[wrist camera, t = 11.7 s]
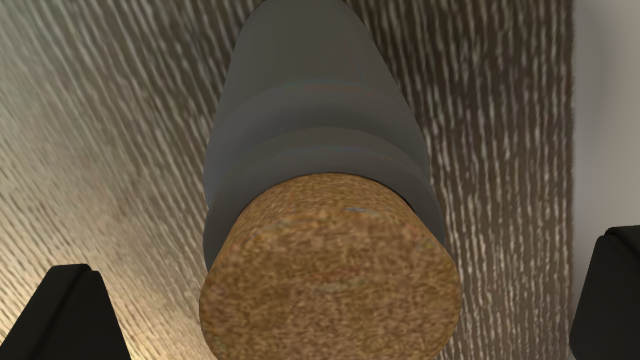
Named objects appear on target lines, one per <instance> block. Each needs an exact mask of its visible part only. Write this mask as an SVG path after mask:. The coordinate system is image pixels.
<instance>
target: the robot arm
mask: <svg viewBox="0 0 640 360" xmlns="http://www.w3.org/2000/svg"><path fill="white" fill-rule="evenodd" d="M569 342H570V347H571V351H572V353H573V355H574V357H575V358H576V360H640V225H635V226H620V227H611V228H609V229H608V230H607V231H606V232H605V234H604V235H603V236H600V237H599V238H598V239H597V241H596V244H595V247H594V251H593V254H592V258H591V261H590V265H589V268H588V272H587V276H586V279H585V283H584V286H583V289H582V293H581V297H580V300H579V303H578V307H577V311H576V314H575V318H574V321H573V325H572V328H571V332H570V336H569ZM0 360H131V357H130V354H129V351H128V349H127V346H126V343H125V340H124V337H123V335H122V332H121V329H120V326H119V323H118V321H117V318H116V315H115V312H114V309H113V307H112V304H111V301H110V298H109V295H108V293H107V290H106V287H105V284H104V281H103V279H102V276H101V274H100V273H99V272H98V271H92V270H91V268H90V266H89V265H88V264H70V265H56V266H53V267H51V268H50V269H49V271H48V272H47V274H46V275H45V277H44V278H43V280H42V281H41V283H40V285H39V286H38V288H37V289H36V291H35V292H34V294H33V296H32V297H31V299H30V300H29V302H28V304H27V305H26V307H25V308H24V310H23V311H22V313H21V315H20V316H19V318H18V319H17V321H16V322H15V324H14V326H13V327H12V329H11V330H10V332H9V333H8V335H7V337H6V338H5V340H4V341H3V343H2V344H1V346H0Z"/></svg>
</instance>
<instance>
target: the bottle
mask: <svg viewBox="0 0 640 360" xmlns="http://www.w3.org/2000/svg"><path fill="white" fill-rule="evenodd" d="M203 182H204V193H205V197H206V201H207V205H208V207H209V210H208V213H207V216H206V220H205V227H204V234H203V252H204V258H205V264H206V268H207V271H208V275H207V277H206V280H205V282H204V285H203V288H202V290H201V295H200V299H199V317H200V324H201V331H202V333H203V336H204V339H205V341H206V343H207V345H208V346H209V348H210V350H211V352H212V353H213V354H214V356H215V357H216V358H217V359H218V360H433V359H434V358H435V357H436V356H437V355H438V354H439V352H440V351H441V350H442V349H443V348H444V346H445V345H446V344H447V342H448V341H449V339H450V338H451V336H452V334H453V332H454V330H455V328H456V325H457V323H458V321H459V317H460V312H461V308H462V288H461V281H460V277H459V274H458V271H457V269H456V267H455V264H454V262H453V260H452V258H451V257H450V256H449V254H448V253H447V251H446V250H445V249H444V247H445V226H444V218H443V215H442V211H441V207H440V205H439V203H438V200H437V198H436V196H435V193H434V191H433V189H432V187H431V185H430V160H429V156H428V151H427V146H426V143H425V141H424V138H423V136H422V133H421V131H420V128H419V126H418V124H417V122H416V120H415V118H414V116H413V114H412V112H411V110H410V108H409V106H408V104H407V103H406V101H405V99H404V97H403V95H402V93H401V91H400V89H399V88H398V86H397V84H396V82H395V80H394V78H393V76H392V75H391V73H390V71H389V69H388V67H387V65H386V64H385V62H384V60H383V58H382V56H381V54H380V53H379V51H378V49H377V47H376V45H375V43H374V42H373V40H372V38H371V36H370V35H369V33H368V31H367V29H366V28H365V26H364V24H363V23H362V21H361V20H360V18H359V17H358V16H357V14H356V13H355V12H354V11H353V10H352V9H351V8H350V7H349V6H348V5H347V4H346V3H344V2H343V1H342V0H266V1H264V2H262V3H261V4H260V5H259V6H258V7H257V8H256V9H255V10H254V11H253V12H252V13H251V14H250V15H249V17H248V18H247V20H246V21H245V23H244V24H243V27H242V29H241V31H240V33H239V36H238V38H237V42H236V45H235V48H234V51H233V55H232V58H231V62H230V65H229V69H228V72H227V76H226V79H225V83H224V86H223V90H222V93H221V97H220V100H219V104H218V108H217V111H216V115H215V119H214V123H213V127H212V131H211V135H210V139H209V142H208V146H207V150H206V155H205V163H204V170H203Z"/></svg>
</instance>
